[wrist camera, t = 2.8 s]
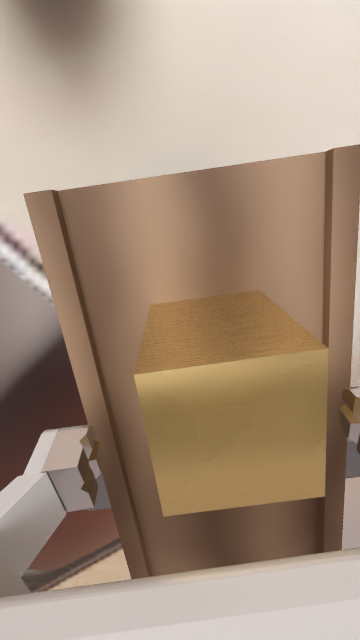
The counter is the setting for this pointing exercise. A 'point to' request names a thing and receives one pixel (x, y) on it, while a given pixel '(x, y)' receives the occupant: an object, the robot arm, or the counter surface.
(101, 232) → the beam
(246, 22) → the counter surface
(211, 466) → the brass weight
